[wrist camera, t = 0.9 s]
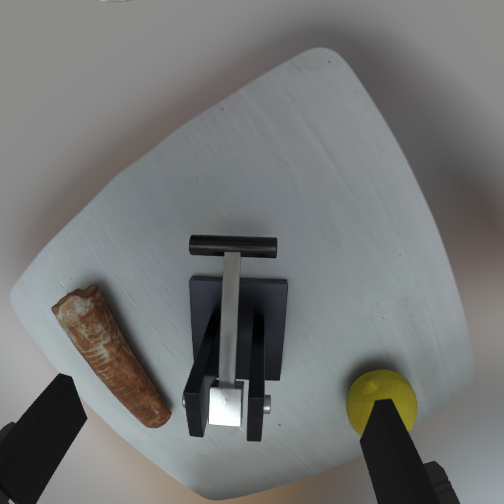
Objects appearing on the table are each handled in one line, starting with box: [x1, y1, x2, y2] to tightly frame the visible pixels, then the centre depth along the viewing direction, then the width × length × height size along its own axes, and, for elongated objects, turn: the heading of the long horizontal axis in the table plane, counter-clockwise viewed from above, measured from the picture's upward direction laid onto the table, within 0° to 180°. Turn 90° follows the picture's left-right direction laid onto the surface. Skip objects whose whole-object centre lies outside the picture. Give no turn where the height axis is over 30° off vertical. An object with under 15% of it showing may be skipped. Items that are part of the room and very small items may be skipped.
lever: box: [189, 235, 277, 427], centre depth 20 cm, size 13×6×2 cm, turn 178°
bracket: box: [182, 276, 288, 442], centre depth 23 cm, size 11×9×13 cm
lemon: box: [346, 369, 417, 436], centre depth 27 cm, size 11×8×8 cm
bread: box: [52, 285, 172, 428], centre depth 28 cm, size 6×19×6 cm, turn 21°
